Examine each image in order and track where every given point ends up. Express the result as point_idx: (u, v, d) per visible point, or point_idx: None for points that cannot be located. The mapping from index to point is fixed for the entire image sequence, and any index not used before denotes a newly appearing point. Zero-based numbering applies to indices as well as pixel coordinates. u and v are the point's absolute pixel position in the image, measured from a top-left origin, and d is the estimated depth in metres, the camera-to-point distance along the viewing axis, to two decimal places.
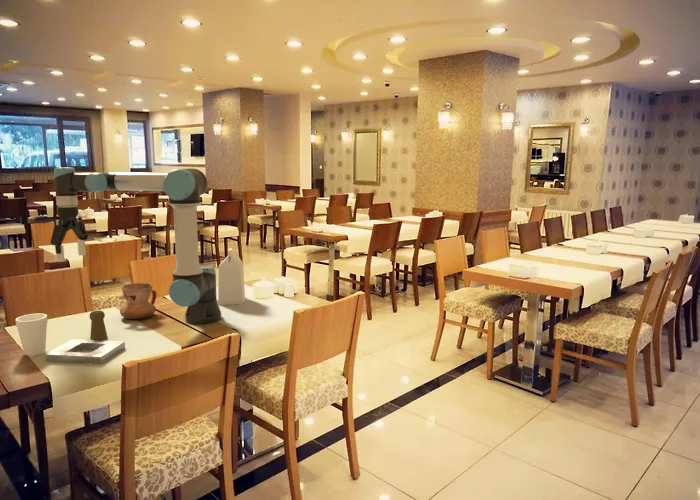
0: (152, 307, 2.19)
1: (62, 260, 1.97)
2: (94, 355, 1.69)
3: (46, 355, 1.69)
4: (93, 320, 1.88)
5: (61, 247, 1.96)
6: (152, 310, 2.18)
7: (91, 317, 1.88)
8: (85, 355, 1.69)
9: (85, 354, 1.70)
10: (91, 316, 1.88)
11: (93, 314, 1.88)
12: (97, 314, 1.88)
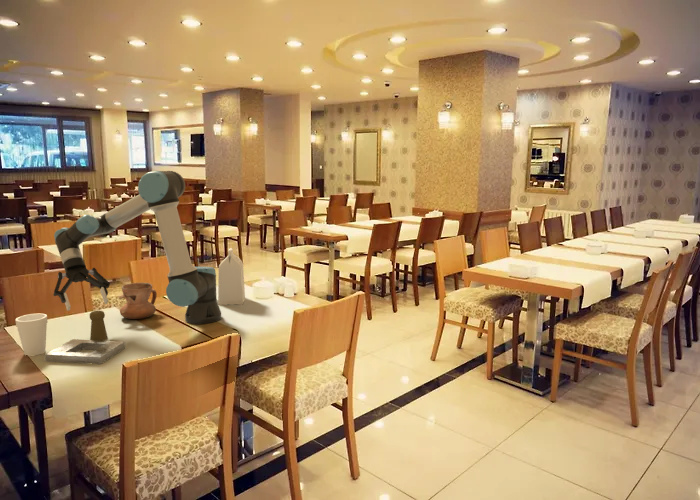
0: (152, 307, 2.19)
1: (68, 306, 1.90)
2: (94, 355, 1.69)
3: (46, 355, 1.69)
4: (93, 320, 1.88)
5: (64, 295, 1.92)
6: (152, 310, 2.18)
7: (91, 317, 1.88)
8: (85, 355, 1.69)
9: (85, 354, 1.70)
10: (91, 316, 1.88)
11: (93, 314, 1.88)
12: (97, 314, 1.88)
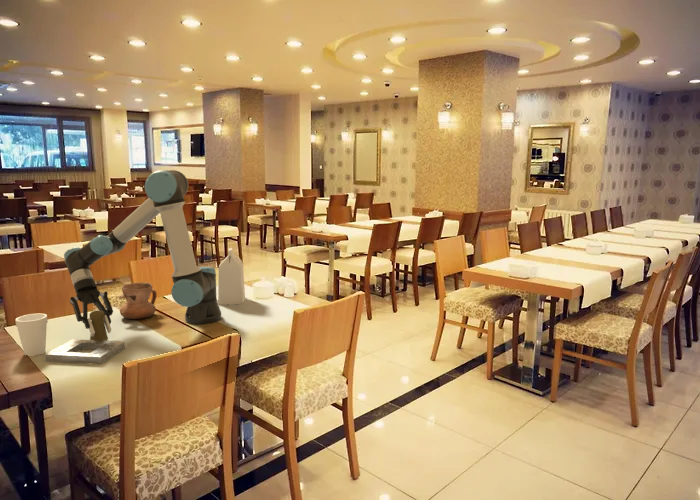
0: (152, 307, 2.19)
1: (92, 332, 1.86)
2: (94, 355, 1.69)
3: (46, 355, 1.69)
4: (93, 320, 1.88)
5: (88, 320, 1.88)
6: (152, 310, 2.18)
7: (91, 317, 1.88)
8: (85, 355, 1.69)
9: (85, 354, 1.70)
10: (91, 316, 1.88)
11: (93, 314, 1.88)
12: (97, 314, 1.88)
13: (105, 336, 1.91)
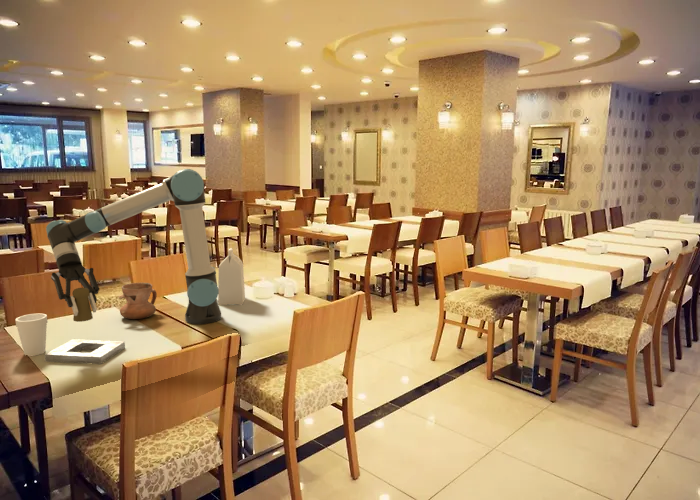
0: (152, 307, 2.19)
1: (75, 311, 1.68)
2: (94, 355, 1.69)
3: (46, 355, 1.69)
4: (76, 298, 1.71)
5: (71, 298, 1.70)
6: (152, 310, 2.18)
7: (74, 294, 1.70)
8: (85, 355, 1.69)
9: (85, 354, 1.70)
10: (74, 293, 1.70)
11: (76, 291, 1.70)
12: (81, 291, 1.71)
13: (90, 316, 1.74)
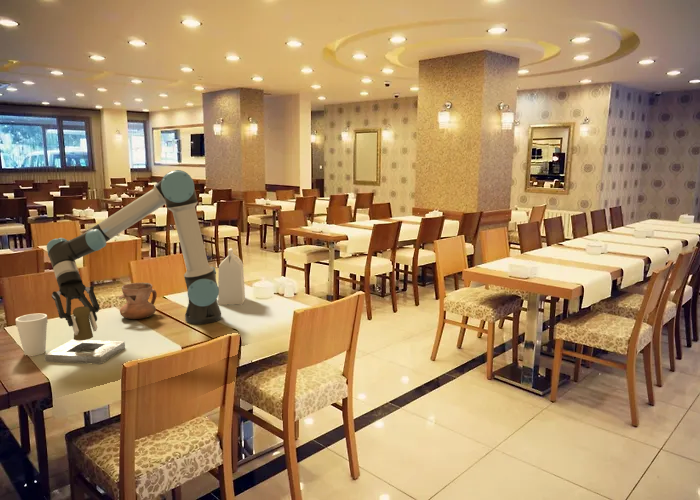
0: (152, 307, 2.19)
1: (76, 330, 1.69)
2: (94, 355, 1.69)
3: (46, 355, 1.69)
4: (77, 317, 1.72)
5: (71, 317, 1.71)
6: (152, 310, 2.18)
7: (75, 314, 1.71)
8: (85, 355, 1.69)
9: (85, 354, 1.70)
10: (75, 312, 1.71)
11: (77, 310, 1.71)
12: (81, 310, 1.71)
13: (90, 335, 1.75)
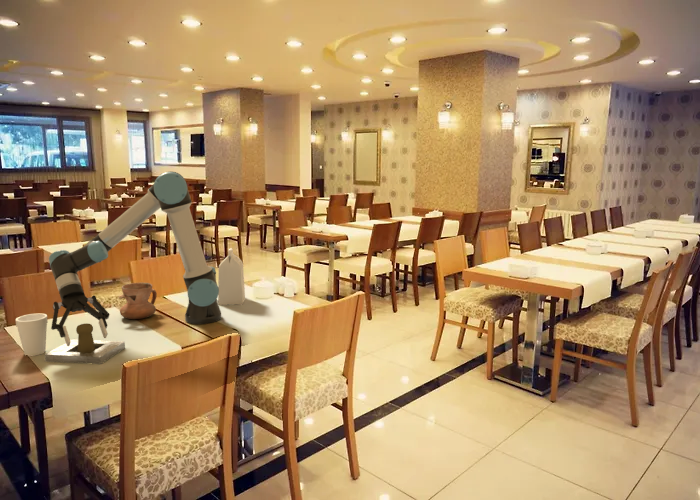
0: (152, 307, 2.19)
1: (67, 341, 1.69)
2: (94, 355, 1.69)
3: (46, 355, 1.69)
4: (80, 334, 1.73)
5: (63, 328, 1.71)
6: (152, 310, 2.18)
7: (78, 331, 1.73)
8: (85, 355, 1.69)
9: (85, 354, 1.70)
10: (78, 330, 1.72)
11: (80, 328, 1.72)
12: (84, 328, 1.73)
13: None
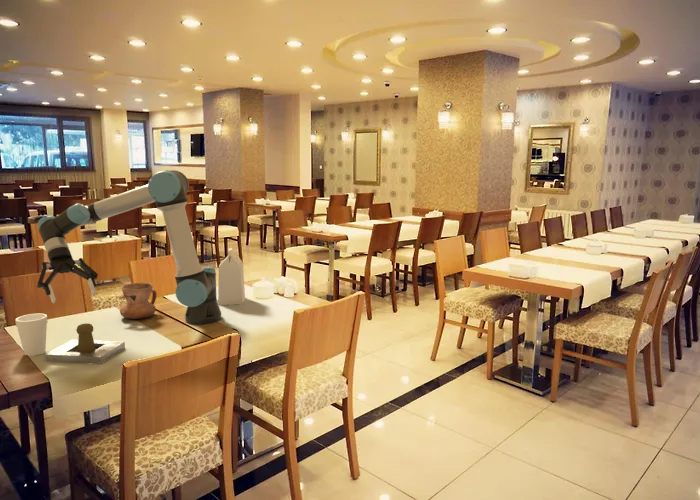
0: (152, 307, 2.19)
1: (52, 298, 1.78)
2: (94, 355, 1.69)
3: (46, 355, 1.69)
4: (80, 334, 1.73)
5: (48, 287, 1.80)
6: (152, 310, 2.18)
7: (78, 331, 1.73)
8: (85, 355, 1.69)
9: (85, 354, 1.70)
10: (78, 330, 1.73)
11: (80, 328, 1.73)
12: (85, 328, 1.73)
13: None
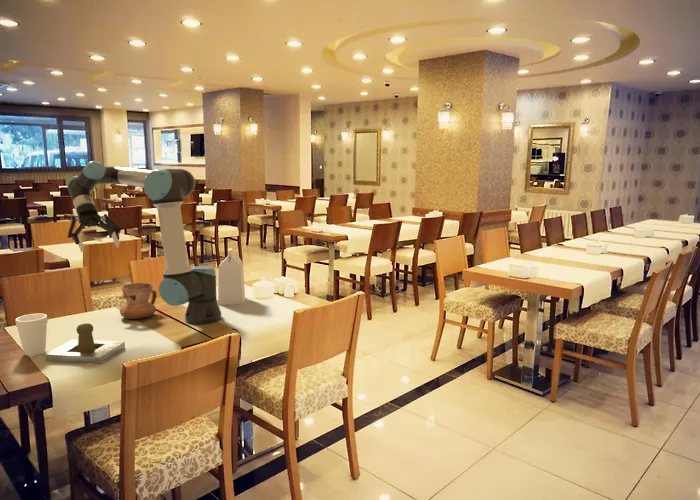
0: (152, 307, 2.19)
1: (81, 247, 1.97)
2: (94, 355, 1.69)
3: (46, 355, 1.69)
4: (80, 334, 1.73)
5: (77, 237, 1.99)
6: (152, 310, 2.18)
7: (78, 331, 1.73)
8: (85, 355, 1.69)
9: (85, 354, 1.70)
10: (78, 330, 1.73)
11: (80, 328, 1.73)
12: (85, 328, 1.73)
13: None
